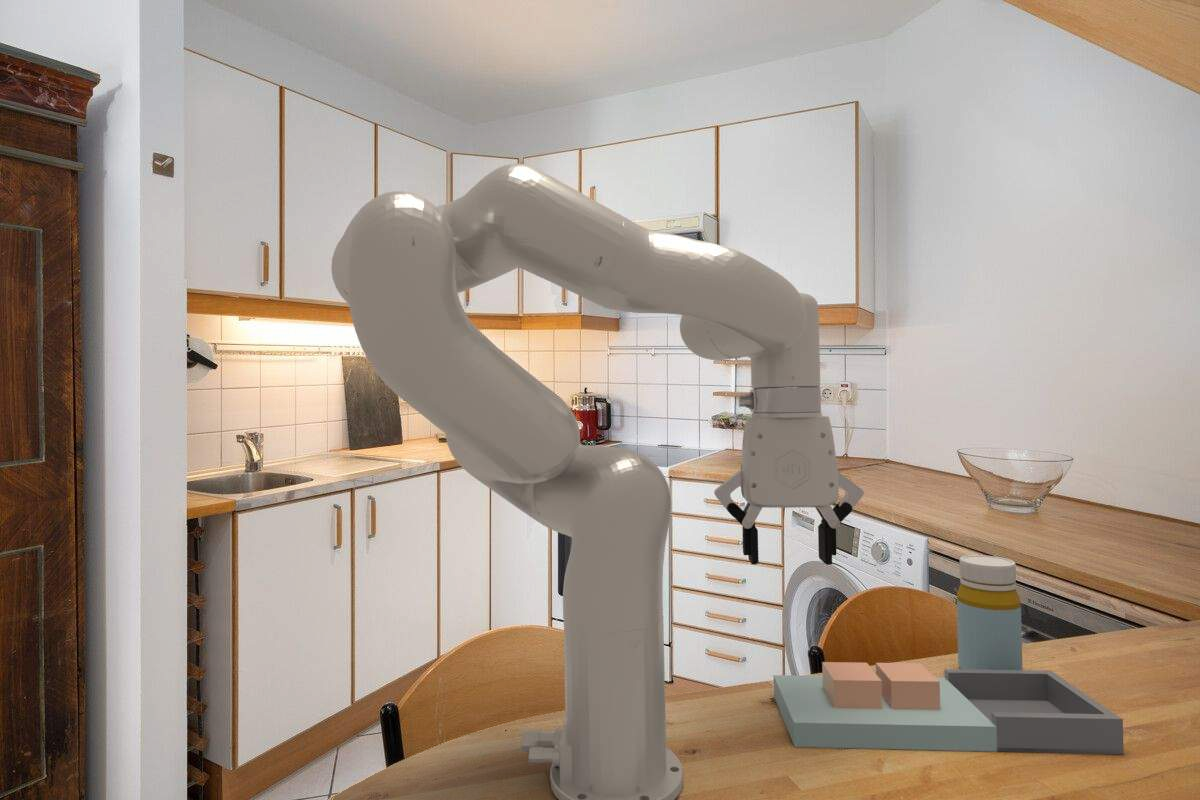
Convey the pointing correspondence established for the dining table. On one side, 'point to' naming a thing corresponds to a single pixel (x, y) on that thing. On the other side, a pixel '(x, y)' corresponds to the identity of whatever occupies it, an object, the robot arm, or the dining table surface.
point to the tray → (1039, 712)
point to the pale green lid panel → (880, 721)
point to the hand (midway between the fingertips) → (789, 560)
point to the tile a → (852, 685)
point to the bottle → (988, 614)
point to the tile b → (908, 686)
